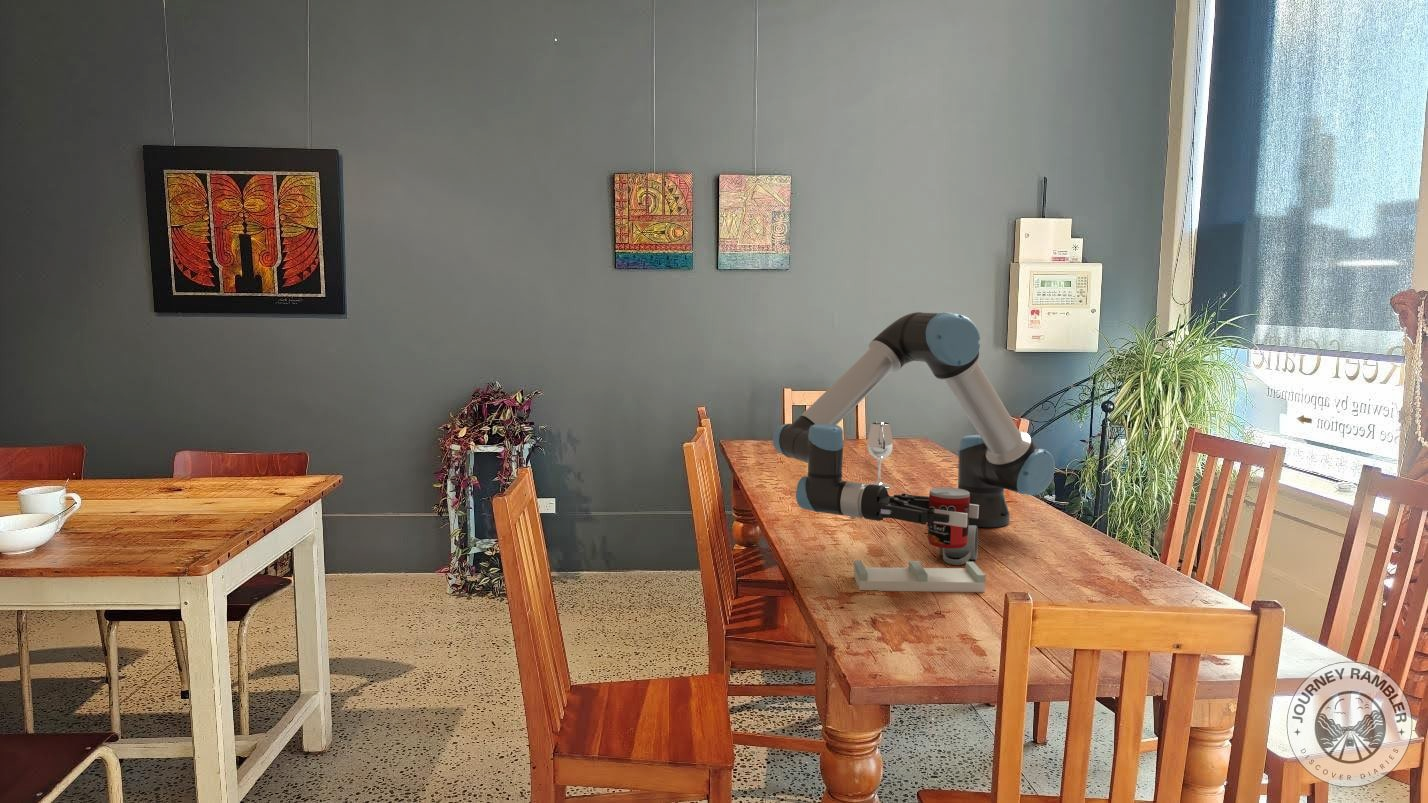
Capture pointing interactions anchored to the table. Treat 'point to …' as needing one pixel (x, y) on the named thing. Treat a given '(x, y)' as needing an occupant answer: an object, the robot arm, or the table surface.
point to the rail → (911, 584)
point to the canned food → (950, 502)
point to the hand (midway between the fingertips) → (972, 516)
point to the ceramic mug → (963, 549)
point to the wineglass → (880, 445)
